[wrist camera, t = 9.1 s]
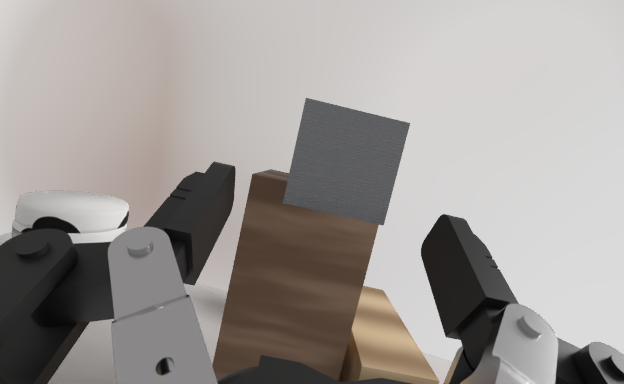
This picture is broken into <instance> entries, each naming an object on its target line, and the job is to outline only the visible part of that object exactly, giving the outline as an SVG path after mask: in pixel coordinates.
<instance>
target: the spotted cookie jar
mask: <svg viewBox="0 0 624 384" xmlns="http://www.w3.org/2000/svg"><path fill="white" fill-rule="evenodd" d="M128 216H129V205H128V204H127V203H126V201H123V200H121V199H119V198H116V197H112V196H108V195H102V194H96V193H89V192H79V191H59V190H58V191H57V190H56V191H37V192H29V193H26V194H23V195H21V196H20V197H19V200H18V203H17V206H16V212H15V219H14V221H13V226H12V238H13V237H15V236H17V235H20V234H22V233H25V232H29V231H32V230H38V229H58V230H62V231H64V232H66V233H67V234H69V236H70V237H71V239H72V242H73V244H75V243H98V242H111V241H113V240H114V239H115V238H116V237H117V236H118V235H120V234H121V233H123V232H125V231H126V228H127V220H128Z"/></svg>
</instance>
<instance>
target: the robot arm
mask: <svg viewBox="0 0 624 384" xmlns="http://www.w3.org/2000/svg"><path fill="white" fill-rule="evenodd" d="M234 186H235V166H231V165H227V164H222V163H218V162H213V163H212V164H211V166H210V167H209V169H208V170H207V171H206V172H205V173H200V172H195V173H193V174H191V175H189V176H187V177H185V178H184V179H183V180H182V181H181V182H180V184H179V185H178V186H177V188H176V189H175V190H174V191H173V192H172V193H171V195H170V197H168V198H167V199H166V200H165V202H164V203H163V204H162V205H161V206H160V208H159V209H158V210H157V211H156V212H155V213H154V215H153V216H152V217H151V218H150V219H149V221H148V222H147V223H146V224H145V225H144V226H143V227H138V228H134V229H131V230H128V231H125V232H123V233H121V234H120V235H118V236H117V237H116V238H115V239H114V240H113V241H111V242H98V243H75V244H73V242H72V239H71V237H70V236H69V234H67V233H66V232H64V231H62V230H58V229H38V230H32V231H29V232H25V233H22V234H20V235H17V236H15V237H13V238H11V239H10V240H8V241H6V242H5V243H3V244H2V245H1V246H0V384H47V383H48V382H49V380H50V379H51V377H52V376H53V375H54V373H55V372H56V370H57V369H58V367H59V366H60V364H61V363H62V361H63V360H64V358H65V357H66V356H67V354H68V353H69V351H70V350H71V348H72V347H73V345H74V344H75V342H76V341H77V340H78V338H79V337H80V335H81V334H82V332H83V331H84V329H85V328H86V326H87V325H88V324H89V322H91V321H99V320H107V319H114V321H113V322H112V326H111V330H112V343H113V354H114V364H115V375H116V384H412V383H407V382H401V381H396V380H391V379H385V378H375V379H367V380H359V381H351V382H339V381H337V380H335V379H333V378H331V377H329V376H327V375H325V374H323V373H321V372H319V371H317V370H315V369H313V368H311V367H309V366H307V365H305V364H303V363H301V362H296V361H290V360H285V359H280V358H274V357H269V356H264V355H261V356H260V361H259V365H258V366H257V367H250V368H245V369H241V370H238V371H235V372H233V373H230V374H228V375H226V376H224V377H222V378H220V379H219V380H216V376H215V373H214V370H213V367H212V364H211V360H210V357H209V354H208V351H207V348H206V345H205V341H204V338H203V335H202V332H201V329H200V325H199V322H198V319H197V316H196V313H195V309H194V306H193V303H192V300H191V298H190V296H189V295H187V294H186V291H185V288H184V285H183V284H184V283H185V284H190V285H195V283H196V281H197V279H198V277H199V275H200V273H201V271H202V269H203V267H204V265H205V263H206V261H207V259H208V257H209V255H210V253H211V251H212V249H213V247H214V245H215V243H216V241H217V239H218V237H219V235H220V233H221V231H222V229H223V227H224V225H225V223H226V221H227V219H228V217H229V215H230V212H231V210H232V206H233V201H234ZM421 256H422V260H423V263H424V267H425V270H426V273H427V276H428V280H429V283H430V286H431V289H432V293H433V296H434V299H435V303H436V306H437V309H438V312H439V316H440V319H441V323H442V326H443V329H444V332H445V336H446V337H449V338H454V339H459V340H461V342H462V345H463V346H462V347H460V348H459V349H458V351H457V353H456V356H455V358H454V360H453V362H452V365H451V367H450V369H449V372H448V374H447V376H446V379H445V381H444V383H443V384H624V355H623V354H622V353H621V352H619V351H618V350H616V349H614V348H613V347H611V346H609V345H606V344H604V343H601V342H593V343H590V344H589V345H587V346H585V347H584V348H582V349H580V348H578V347H575V346H574V345H572V344H569V343H567V342H565V341H563V340H561V339H559V338H557V336H556V334H555V332H554V331H553V329H552V328H551V327H550V325H549V324H548V323H547V322H546V321H545V320H544V319H543V318H542V317H541V316H540V315H539V314H537V313H536V312H534V311H533V310H531V309H529V308H528V307H526V306H523V305H520V304H518V302H517V300H516V298H515V297H514V295H513V293H512V291H511V289H510V288H509V286H508V284H507V282H506V280H505V279H504V277H503V275H502V273H501V272H500V270H499V269H497V268H498V266H497V265H496V263H495V261H494V260H493V259H492V256H491V254H490V252H489V251H488V249H487V247H486V246H485V244H484V243H483V242H482V241H481V240H480V239H479V238H478V237H477V236H476V235H475V234H473V232H472V231H471V229H470V227H469V225H468V223H467V221H466V220H465V219H463V218H458V217H453V216H450V215H445V214H444V215H441V216H440V217H439V218H438V220H437V222H436V223H435V225H434V226H433V228H432V229H431V231H430V232H429V234H428V235H427V237H426V238H425V240H424V242H423V244H422V248H421Z"/></svg>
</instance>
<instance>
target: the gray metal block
mask: <svg viewBox="0 0 624 384" xmlns="http://www.w3.org/2000/svg"><path fill="white" fill-rule="evenodd" d="M409 125H410V123H406V122H402V121H398V120H394V119H390V118H386V117H381V116H378V115H374V114H370V113H365V112H361V111H357V110H353V109H349V108H345V107H341V106H337V105H333V104H329V103H324V102H320V101H316V100H312V99H308V98H306V101H305V105H304V110H303V114H302V119H301V123H300V128H299V132H298V137H297V141H296V146H295V150H294V155H293V159H292V164H291V168H290V173H289V177H288V182H287V186H286V191H285V195H284V200H283V203H285V204H289V205H294V206H298V207H303V208H307V209H312V210H316V211H321V212H325V213H330V214H334V215H339V216H343V217H348V218H352V219H357V220H361V221H366V222H370V223H375V224H379V225H384V221H385V217H386V214H387V210H388V206H389V202H390V198H391V194H392V190H393V187H394V183H395V179H396V175H397V171H398V167H399V163H400V160H401V156H402V152H403V148H404V144H405V140H406V137H407V133H408V129H409Z"/></svg>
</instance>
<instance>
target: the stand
mask: <svg viewBox="0 0 624 384" xmlns="http://www.w3.org/2000/svg"><path fill="white" fill-rule="evenodd" d="M288 177H289V173H284V172H280V171H276V170H268V171H263V172H259V173H255V174H252V179H251V184H250V189H249V194H248V199H247V204H246V208H245V213H244V218H243V223H242V228H241V232H240V237H239V242H238V247H237V251H236V256H235V261H234V266H233V271H232V275H231V280H230V285H229V290H228V294H227V299H226V304H225V309H224V314H223V318H222V323H221V328H220V333H219V338H218V342H217V347H216V352H215V357H214V362H213V366H212V367H213V370H214V373H215V376H216V380H219V379H220V378H222V377H224V376H226V375H228V374H230V373H233V372H235V371H238V370H241V369H245V368H250V367H257V366H258V365H259V361H260V356H261V355H264V356H269V357H274V358H280V359H285V360H290V361H296V362H301V363H303V364H305V365H307V366H309V367H311V368H313V369H315V370H317V371H319V372H321V373H323V374H325V375H327V376H329V377H331V378H333V379H335V380H337V381H339V382H351V381H359V380H367V379H375V378H385V379H391V380H396V381H401V382H407V383H412V384H439V380H438V378H437V377H436V375H435V373H434V372H433V370H432V368H431V367H430V365H429V364H428V362H427V360H426V359H425V357H424V356H423V354H422V352H421V351H420V349H419V348H418V346H417V344H416V343H415V341H414V339H413V338H412V336H411V335H410V333H409V331H408V330H407V328H406V327H405V325H404V323H403V322H402V320H401V318H400V317H399V315H398V314H397V312H396V310H395V309H394V307H393V306H392V304H391V302H390V301H389V299H388V298H387V296H386V294H385V293H384V291H383V290H380V289H375V288H370V287H365V286H363V283H364V279H365V275H366V271H367V267H368V264H369V260H370V256H371V252H372V248H373V244H374V240H375V236H376V233H377V228H378V225H379V224H375V223H370V222H366V221H361V220H357V219H352V218H348V217H343V216H339V215H334V214H330V213H325V212H321V211H316V210H312V209H307V208H303V207H298V206H294V205H289V204H285V203H283V200H284V195H285V191H286V186H287V182H288Z"/></svg>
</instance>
